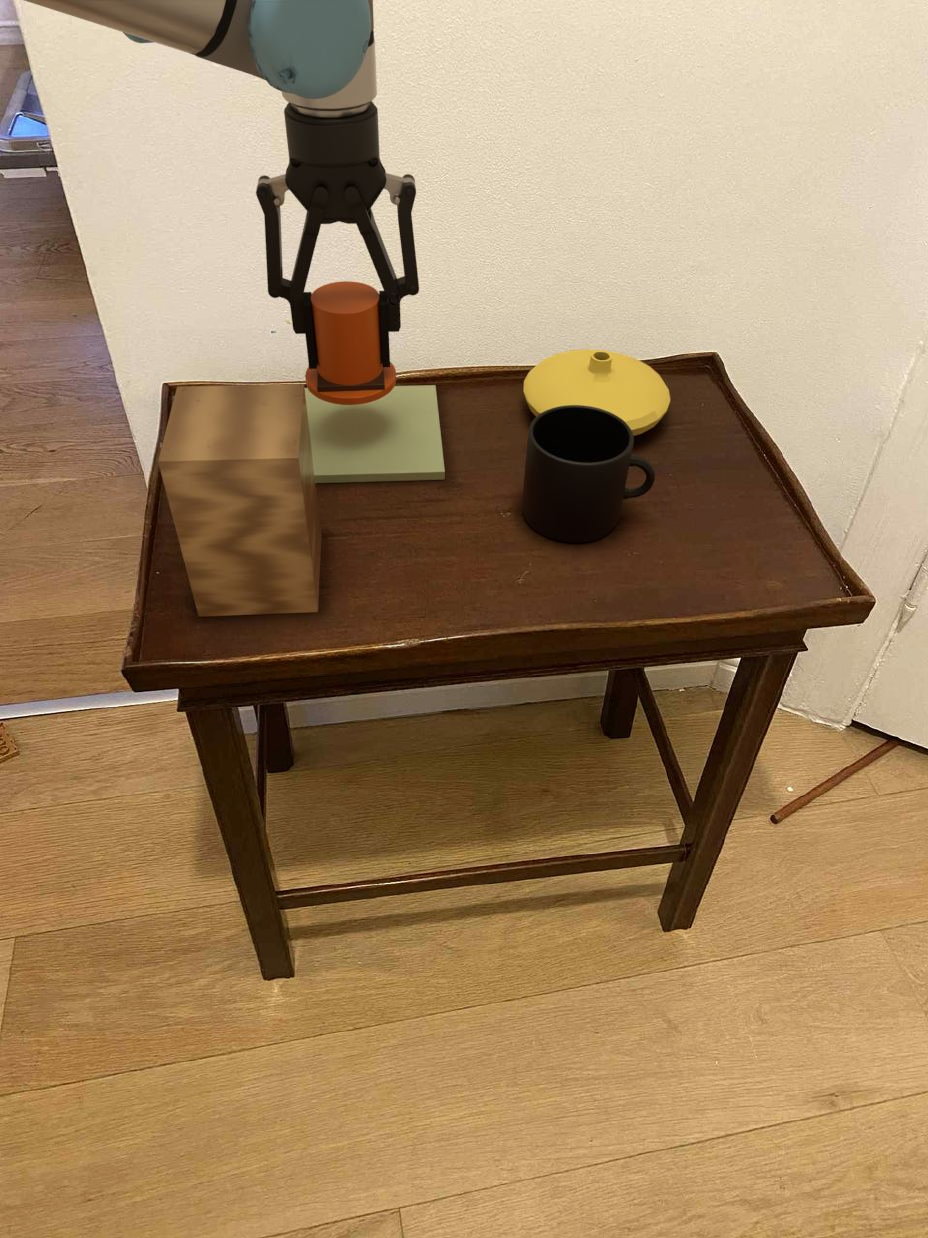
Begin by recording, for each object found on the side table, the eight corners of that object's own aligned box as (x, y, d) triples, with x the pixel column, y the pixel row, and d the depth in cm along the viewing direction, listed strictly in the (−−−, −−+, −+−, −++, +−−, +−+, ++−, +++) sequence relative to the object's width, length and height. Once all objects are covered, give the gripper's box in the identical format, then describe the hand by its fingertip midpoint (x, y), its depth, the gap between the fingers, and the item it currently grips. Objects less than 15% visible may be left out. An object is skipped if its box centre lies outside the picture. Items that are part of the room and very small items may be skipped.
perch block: (198, 617, 77) (157, 461, 65) (211, 539, 84) (177, 386, 72) (318, 612, 78) (298, 457, 66) (321, 535, 85) (304, 383, 73)
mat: (262, 484, 90) (260, 476, 89) (272, 396, 101) (271, 388, 100) (444, 479, 91) (444, 471, 90) (435, 392, 102) (435, 384, 101)
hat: (305, 406, 88) (295, 321, 81) (306, 358, 94) (297, 275, 88) (398, 403, 88) (396, 318, 82) (394, 355, 95) (391, 273, 88)
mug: (647, 551, 84) (665, 471, 78) (518, 539, 85) (525, 459, 78) (644, 489, 91) (661, 411, 84) (524, 478, 91) (531, 400, 85)
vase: (679, 455, 95) (693, 396, 90) (529, 457, 94) (534, 398, 89) (649, 375, 106) (660, 318, 101) (514, 376, 105) (518, 319, 100)
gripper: (202, 117, 70) (247, 383, 86) (454, 117, 71) (450, 378, 88) (213, 87, 75) (253, 343, 92) (447, 87, 76) (445, 339, 93)
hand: (349, 360), depth 90 cm, fingers closed on hat, 6 cm apart
